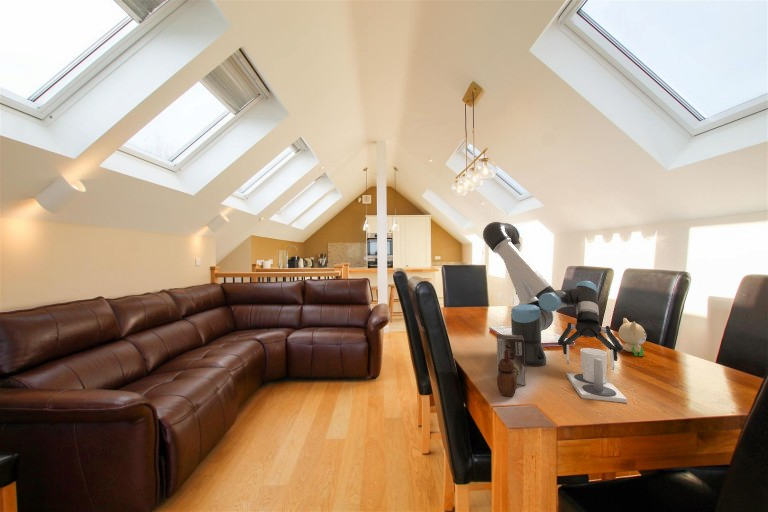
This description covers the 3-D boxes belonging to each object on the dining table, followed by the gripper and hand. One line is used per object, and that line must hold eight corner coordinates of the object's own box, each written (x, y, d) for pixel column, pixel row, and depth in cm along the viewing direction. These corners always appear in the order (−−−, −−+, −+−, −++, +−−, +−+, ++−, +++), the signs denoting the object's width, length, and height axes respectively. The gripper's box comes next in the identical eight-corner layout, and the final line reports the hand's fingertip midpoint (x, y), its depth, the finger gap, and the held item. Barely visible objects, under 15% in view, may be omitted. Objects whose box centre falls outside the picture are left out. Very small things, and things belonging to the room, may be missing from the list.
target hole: (578, 382, 107) (578, 382, 107) (571, 373, 115) (571, 372, 115) (608, 385, 104) (608, 384, 104) (599, 375, 112) (599, 375, 112)
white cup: (613, 384, 104) (613, 354, 104) (590, 384, 104) (589, 354, 104) (598, 375, 112) (597, 347, 112) (576, 375, 112) (575, 348, 112)
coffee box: (524, 379, 114) (523, 335, 114) (525, 386, 107) (524, 339, 108) (497, 376, 117) (496, 333, 117) (497, 383, 110) (496, 337, 111)
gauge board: (581, 397, 98) (580, 362, 98) (566, 376, 116) (566, 346, 116) (627, 402, 94) (626, 365, 94) (604, 379, 112) (603, 348, 112)
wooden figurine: (514, 400, 97) (513, 351, 97) (495, 396, 100) (494, 349, 100) (518, 392, 103) (517, 346, 103) (500, 388, 106) (499, 344, 106)
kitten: (655, 358, 135) (654, 323, 135) (628, 356, 138) (627, 322, 138) (638, 348, 149) (637, 317, 150) (613, 347, 152) (612, 316, 152)
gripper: (625, 323, 120) (632, 376, 108) (552, 317, 133) (551, 364, 121) (627, 312, 116) (634, 366, 103) (551, 307, 129) (550, 355, 116)
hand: (589, 365), depth 112 cm, fingers open, 13 cm apart
